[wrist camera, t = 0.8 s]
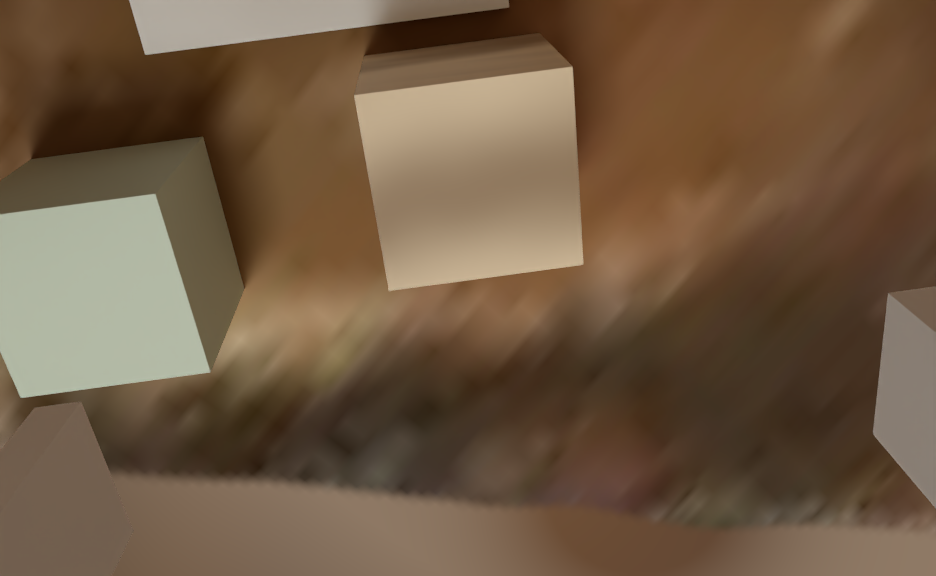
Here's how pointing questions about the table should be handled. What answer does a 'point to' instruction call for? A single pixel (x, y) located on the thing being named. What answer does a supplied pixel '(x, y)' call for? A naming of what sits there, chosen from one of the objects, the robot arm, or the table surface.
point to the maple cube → (471, 159)
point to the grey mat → (275, 18)
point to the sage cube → (114, 268)
